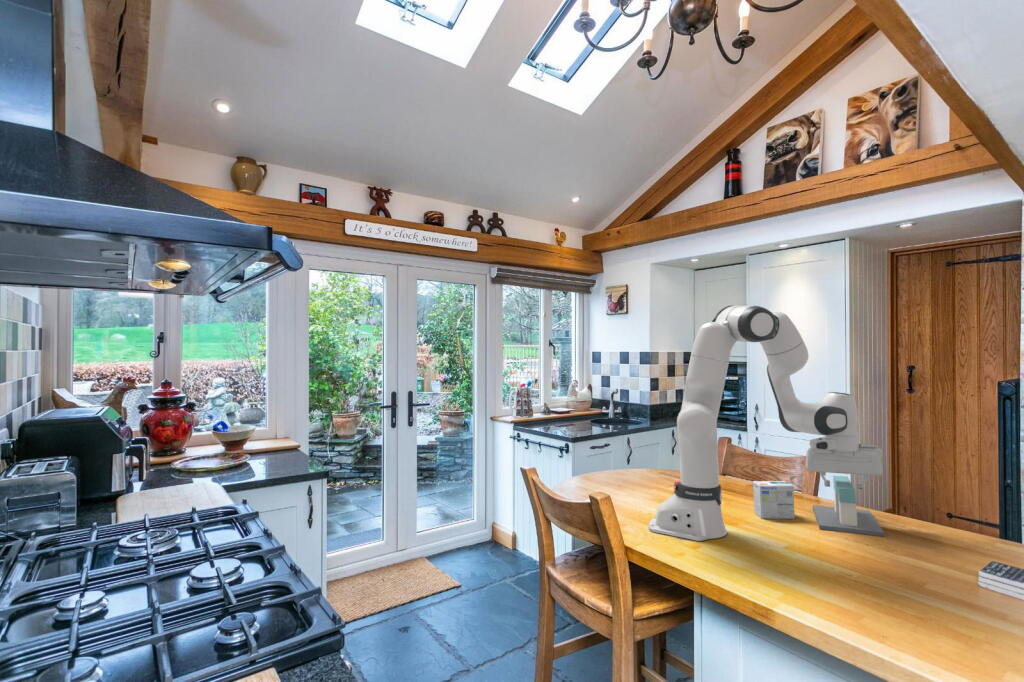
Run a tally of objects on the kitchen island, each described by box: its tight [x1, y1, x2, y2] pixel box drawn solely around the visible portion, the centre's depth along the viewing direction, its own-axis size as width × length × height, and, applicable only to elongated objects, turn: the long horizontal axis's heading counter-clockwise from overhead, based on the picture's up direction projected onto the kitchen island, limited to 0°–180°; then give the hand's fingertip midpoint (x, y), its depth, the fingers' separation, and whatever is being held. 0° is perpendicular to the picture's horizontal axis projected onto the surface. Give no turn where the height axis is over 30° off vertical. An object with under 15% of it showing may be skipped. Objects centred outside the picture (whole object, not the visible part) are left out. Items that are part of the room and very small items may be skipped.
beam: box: [832, 475, 857, 505], centre depth 158 cm, size 18×4×4 cm, turn 152°
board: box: [812, 489, 885, 537], centre depth 158 cm, size 16×22×8 cm
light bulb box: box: [752, 480, 796, 520], centre depth 165 cm, size 11×7×11 cm, turn 84°
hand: (843, 487), depth 158 cm, fingers open, 8 cm apart
